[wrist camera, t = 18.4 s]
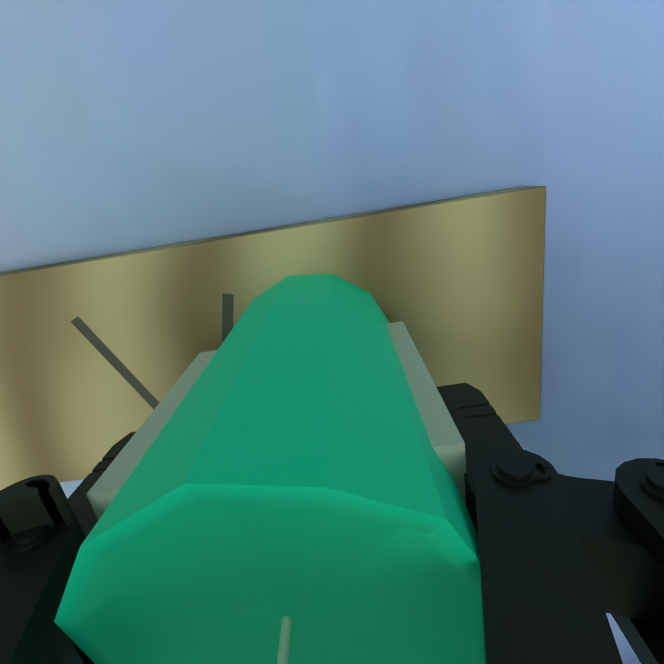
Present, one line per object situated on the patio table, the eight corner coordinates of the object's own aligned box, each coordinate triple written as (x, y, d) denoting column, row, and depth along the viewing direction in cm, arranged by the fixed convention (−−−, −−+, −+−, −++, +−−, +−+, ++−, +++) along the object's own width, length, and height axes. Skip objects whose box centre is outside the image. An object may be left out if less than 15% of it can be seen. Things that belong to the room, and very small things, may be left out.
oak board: (525, 186, 14) (546, 186, 13) (523, 400, 18) (540, 419, 16) (-86, 286, 16) (-127, 296, 14) (12, 468, 19) (-14, 491, 18)
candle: (247, 256, 14) (-119, 561, 3) (413, 289, 14) (708, 678, 3) (228, 403, 16) (-24, 927, 5) (374, 429, 16) (463, 970, 5)
